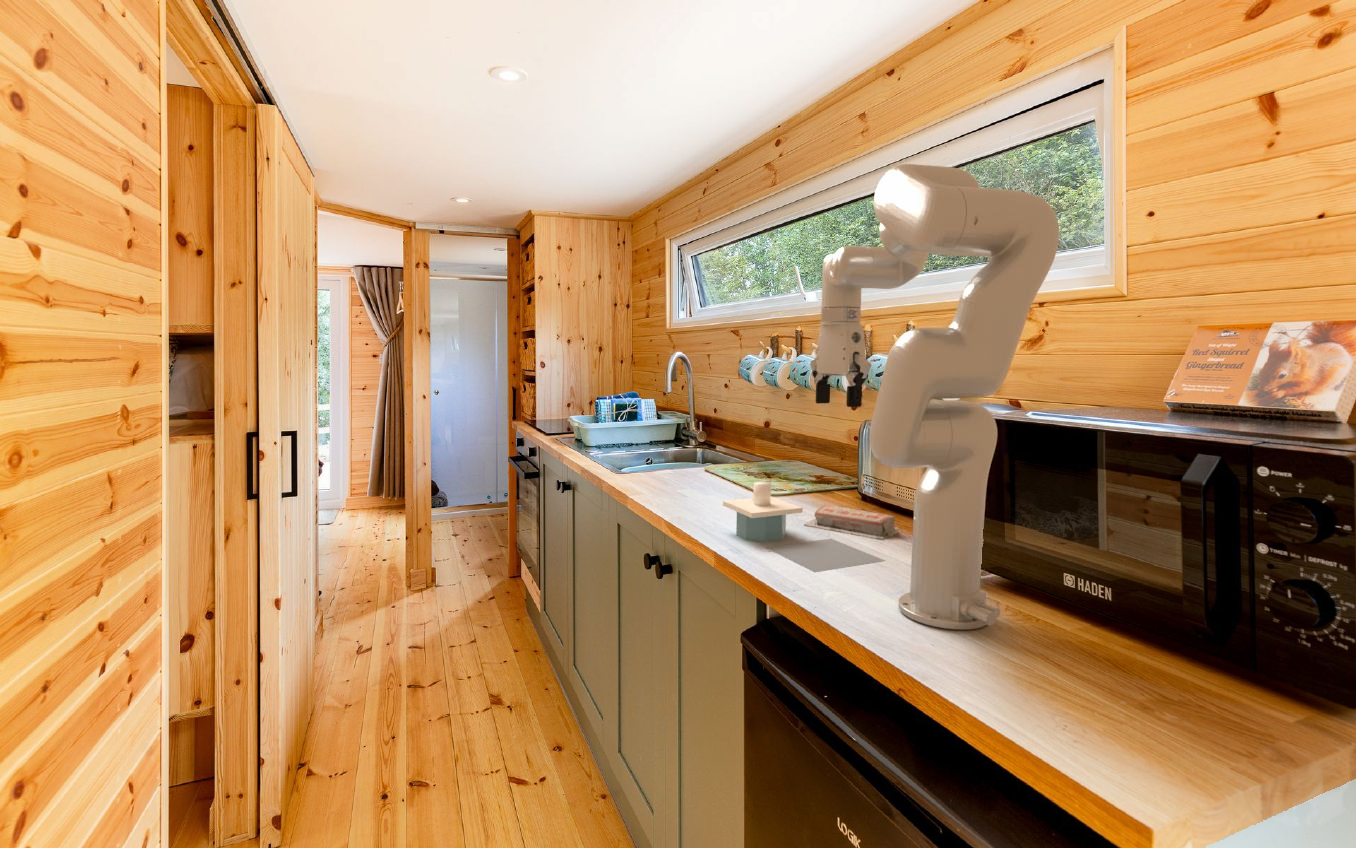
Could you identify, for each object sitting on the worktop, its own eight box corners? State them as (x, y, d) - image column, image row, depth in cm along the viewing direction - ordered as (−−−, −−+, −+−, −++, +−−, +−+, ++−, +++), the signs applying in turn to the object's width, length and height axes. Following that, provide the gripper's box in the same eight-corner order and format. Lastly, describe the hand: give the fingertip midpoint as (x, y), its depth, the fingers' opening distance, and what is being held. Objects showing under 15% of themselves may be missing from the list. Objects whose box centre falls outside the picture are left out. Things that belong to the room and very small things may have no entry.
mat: (885, 562, 120) (885, 560, 120) (814, 574, 113) (814, 572, 113) (830, 540, 134) (831, 538, 134) (765, 549, 128) (765, 547, 128)
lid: (802, 512, 133) (803, 486, 132) (752, 518, 128) (752, 490, 127) (770, 500, 144) (771, 476, 143) (722, 505, 139) (723, 480, 138)
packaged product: (900, 512, 141) (883, 521, 133) (899, 534, 141) (882, 544, 133) (823, 500, 152) (803, 508, 144) (823, 520, 152) (803, 529, 144)
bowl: (793, 540, 134) (793, 511, 133) (753, 545, 130) (753, 516, 129) (767, 528, 143) (768, 502, 142) (729, 533, 139) (730, 506, 138)
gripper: (886, 316, 121) (882, 407, 123) (828, 320, 137) (826, 401, 138) (854, 315, 118) (851, 408, 120) (799, 319, 134) (796, 402, 135)
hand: (837, 404), depth 129 cm, fingers open, 9 cm apart
